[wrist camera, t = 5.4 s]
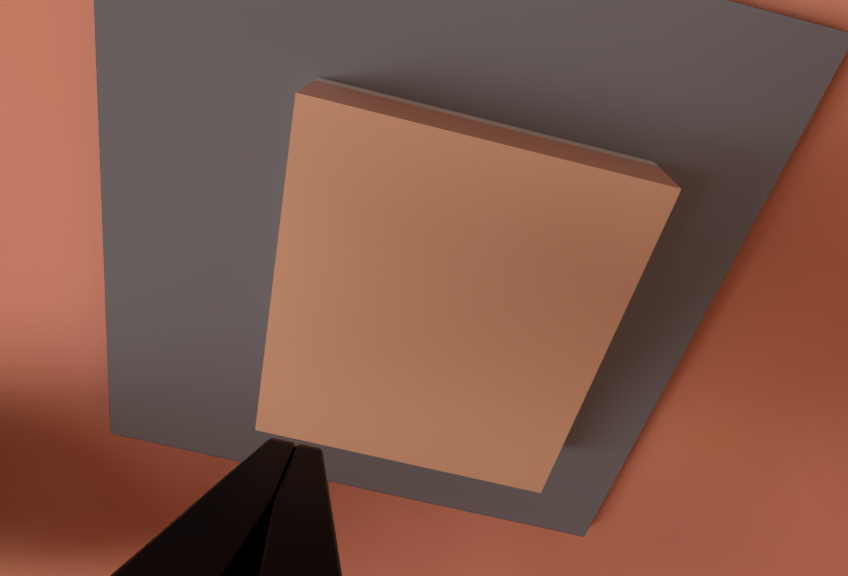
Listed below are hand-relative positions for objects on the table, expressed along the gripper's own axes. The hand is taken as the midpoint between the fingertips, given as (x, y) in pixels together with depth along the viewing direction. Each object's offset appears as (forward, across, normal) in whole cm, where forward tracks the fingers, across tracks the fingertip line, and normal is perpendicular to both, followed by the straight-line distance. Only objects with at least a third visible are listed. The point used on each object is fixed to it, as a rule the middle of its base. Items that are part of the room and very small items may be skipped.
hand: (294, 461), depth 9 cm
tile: (+6, +2, 0) cm, 6 cm away
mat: (+8, -1, 0) cm, 8 cm away
